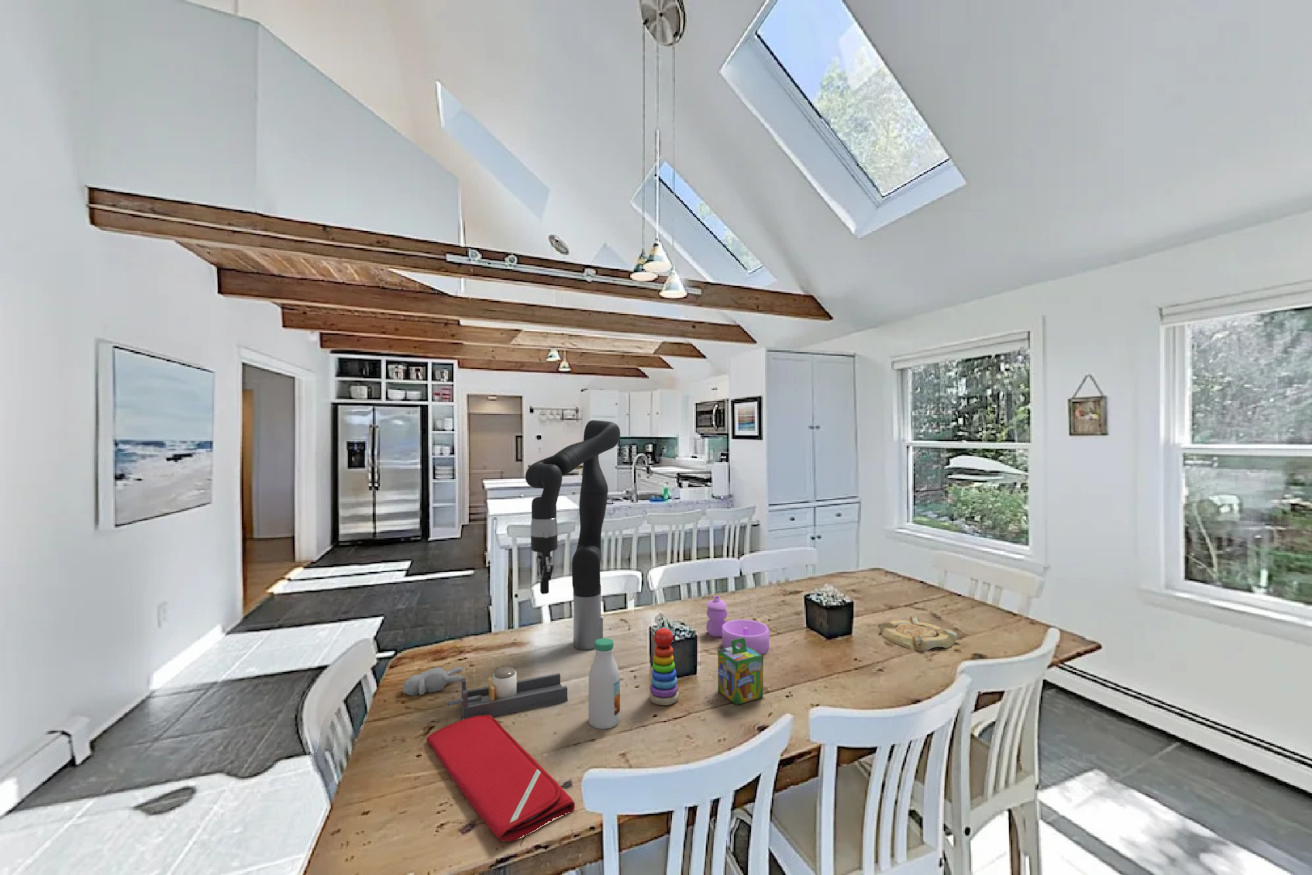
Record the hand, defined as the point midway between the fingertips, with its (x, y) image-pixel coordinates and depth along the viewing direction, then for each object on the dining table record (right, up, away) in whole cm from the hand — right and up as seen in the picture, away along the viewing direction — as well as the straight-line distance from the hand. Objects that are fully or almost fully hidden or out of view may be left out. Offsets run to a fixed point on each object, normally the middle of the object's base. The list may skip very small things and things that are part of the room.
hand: (544, 593), depth 152 cm
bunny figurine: (-30, -26, -5) cm, 40 cm away
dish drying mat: (-2, -26, -41) cm, 49 cm away
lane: (-5, -25, -13) cm, 29 cm away
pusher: (-15, -24, -17) cm, 33 cm away
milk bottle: (+19, -26, -22) cm, 39 cm away
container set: (+59, -25, +27) cm, 69 cm away
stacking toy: (+34, -25, -11) cm, 44 cm away
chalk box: (+55, -25, -9) cm, 61 cm away
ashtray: (+122, -25, +30) cm, 128 cm away
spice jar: (-8, -24, -14) cm, 29 cm away
